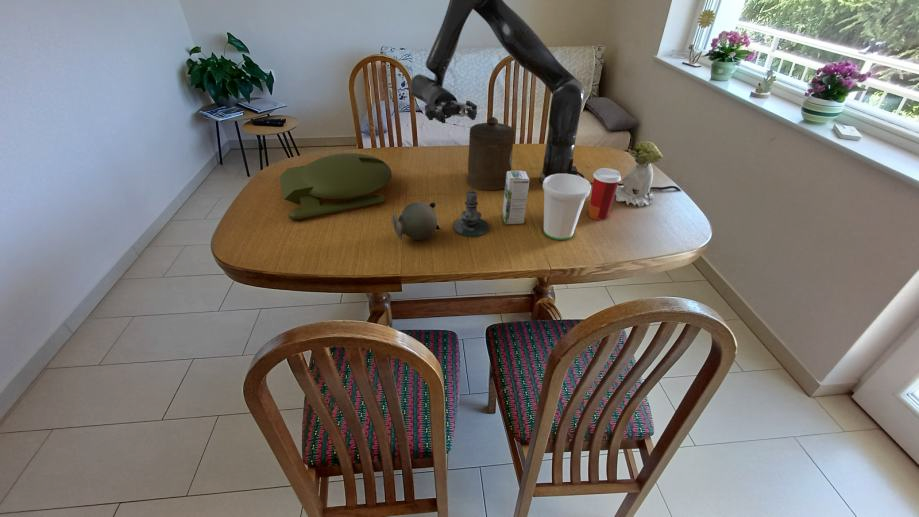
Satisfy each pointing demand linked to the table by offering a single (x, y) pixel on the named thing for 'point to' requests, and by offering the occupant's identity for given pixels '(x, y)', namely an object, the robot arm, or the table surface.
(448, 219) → the table surface
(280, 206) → the table surface
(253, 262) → the table surface
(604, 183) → the paper cup
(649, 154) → the white green figurine
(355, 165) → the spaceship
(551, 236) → the cup
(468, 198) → the stone chess piece
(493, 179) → the wooden container
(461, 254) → the table surface
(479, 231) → the coaster
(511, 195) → the syrup box
